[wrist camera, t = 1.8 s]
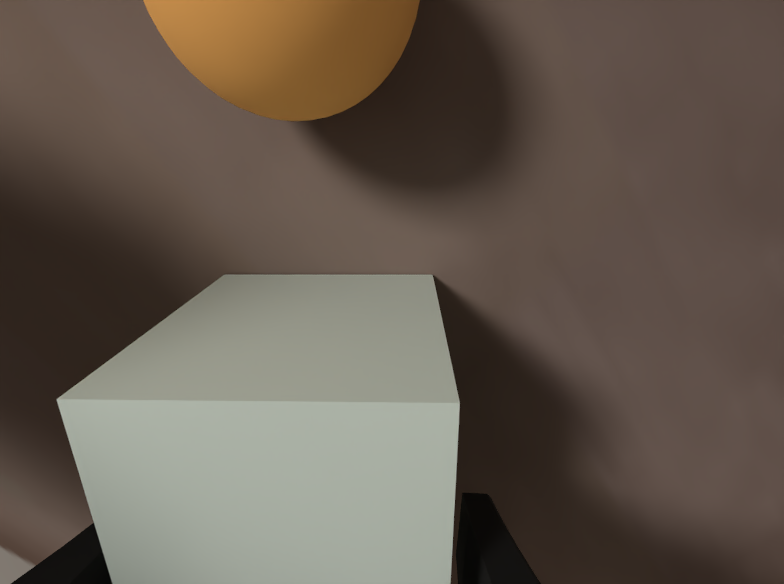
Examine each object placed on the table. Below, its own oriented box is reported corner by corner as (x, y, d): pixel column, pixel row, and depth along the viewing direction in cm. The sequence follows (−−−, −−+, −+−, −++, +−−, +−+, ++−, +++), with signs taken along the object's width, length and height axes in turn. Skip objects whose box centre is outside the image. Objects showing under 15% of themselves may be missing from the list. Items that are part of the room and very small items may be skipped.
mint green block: (425, 550, 16) (439, 804, 10) (262, 547, 16) (176, 794, 10) (432, 274, 12) (460, 402, 6) (224, 274, 13) (56, 399, 6)
